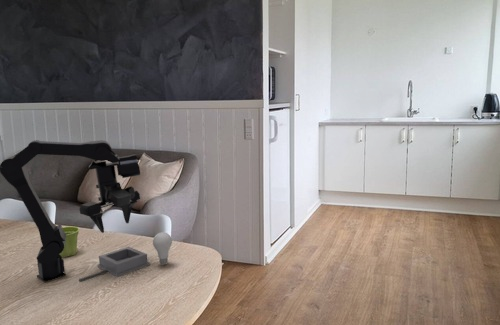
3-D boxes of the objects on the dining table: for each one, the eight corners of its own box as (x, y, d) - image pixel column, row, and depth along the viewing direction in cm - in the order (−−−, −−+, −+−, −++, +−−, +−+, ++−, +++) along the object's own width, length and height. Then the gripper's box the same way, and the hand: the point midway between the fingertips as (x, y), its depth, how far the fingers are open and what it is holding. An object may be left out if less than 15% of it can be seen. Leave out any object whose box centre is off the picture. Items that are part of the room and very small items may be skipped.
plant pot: (86, 249, 158) (84, 226, 156) (73, 259, 148) (71, 235, 147) (62, 249, 159) (59, 226, 157) (47, 259, 149) (45, 234, 148)
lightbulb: (163, 270, 137) (161, 237, 135) (150, 265, 141) (148, 233, 139) (177, 263, 142) (175, 231, 140) (164, 259, 146) (162, 228, 144)
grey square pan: (89, 287, 126) (88, 275, 126) (70, 276, 135) (69, 264, 134) (149, 265, 142) (149, 254, 141) (129, 256, 150) (129, 245, 149)
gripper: (94, 190, 124) (103, 241, 127) (147, 175, 138) (154, 221, 141) (74, 187, 131) (83, 236, 134) (126, 173, 145) (133, 217, 148)
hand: (115, 227), depth 139 cm, fingers open, 9 cm apart
